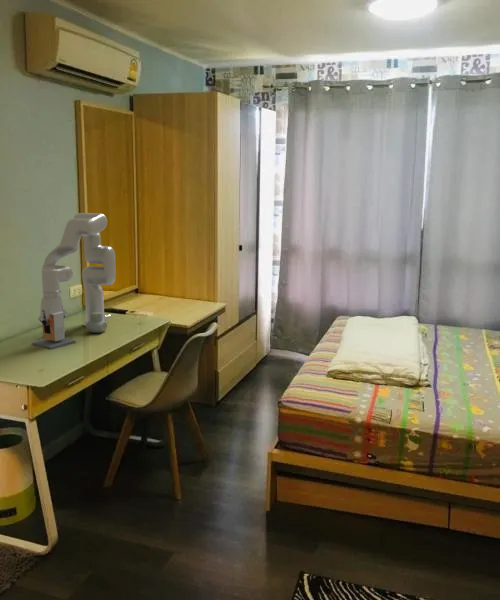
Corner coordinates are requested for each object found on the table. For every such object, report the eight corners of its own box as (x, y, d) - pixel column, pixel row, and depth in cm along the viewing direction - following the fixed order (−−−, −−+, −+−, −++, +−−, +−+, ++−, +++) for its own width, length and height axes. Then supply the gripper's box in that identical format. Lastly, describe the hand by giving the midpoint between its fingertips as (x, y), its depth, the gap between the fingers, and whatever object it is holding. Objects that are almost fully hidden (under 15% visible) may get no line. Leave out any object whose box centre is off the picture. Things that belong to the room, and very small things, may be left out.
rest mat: (56, 337, 293) (56, 335, 292) (75, 342, 285) (75, 340, 285) (32, 344, 281) (32, 342, 281) (51, 349, 274) (51, 347, 273)
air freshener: (99, 335, 299) (98, 315, 297) (84, 333, 301) (83, 314, 299) (109, 329, 310) (108, 310, 308) (94, 328, 311) (93, 310, 309)
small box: (42, 339, 282) (41, 312, 279) (53, 336, 287) (51, 309, 285) (55, 341, 278) (53, 314, 275) (65, 338, 284) (63, 311, 281)
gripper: (61, 290, 287) (63, 326, 291) (30, 296, 273) (33, 334, 277) (71, 292, 283) (73, 328, 287) (41, 298, 269) (43, 336, 273)
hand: (53, 331), depth 282 cm, fingers closed on small box, 6 cm apart
